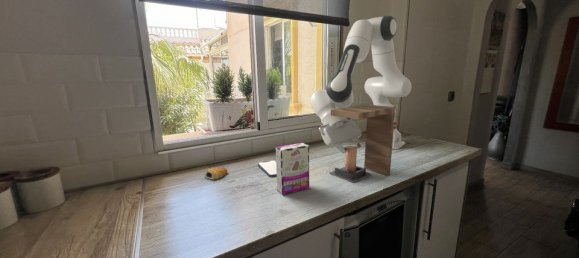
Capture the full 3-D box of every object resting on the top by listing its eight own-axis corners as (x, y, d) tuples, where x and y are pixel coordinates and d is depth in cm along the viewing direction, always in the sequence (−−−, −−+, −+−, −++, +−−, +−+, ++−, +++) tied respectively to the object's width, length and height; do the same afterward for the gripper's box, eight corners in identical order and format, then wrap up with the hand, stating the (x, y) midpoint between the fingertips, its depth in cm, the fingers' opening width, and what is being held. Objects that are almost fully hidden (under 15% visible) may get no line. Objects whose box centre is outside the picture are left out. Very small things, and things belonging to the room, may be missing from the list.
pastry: (220, 170, 112) (219, 162, 111) (231, 173, 109) (231, 165, 108) (203, 178, 104) (202, 169, 103) (214, 181, 101) (214, 172, 100)
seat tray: (347, 167, 115) (347, 161, 114) (370, 175, 106) (371, 169, 105) (329, 173, 107) (329, 168, 107) (353, 183, 98) (353, 176, 98)
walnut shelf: (364, 167, 115) (368, 104, 109) (389, 174, 106) (395, 107, 100) (328, 181, 100) (330, 109, 94) (354, 192, 91) (358, 113, 85)
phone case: (289, 175, 108) (274, 163, 121) (289, 171, 107) (274, 159, 121) (269, 179, 104) (256, 166, 118) (269, 175, 103) (256, 162, 117)
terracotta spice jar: (349, 170, 109) (350, 145, 107) (357, 173, 106) (359, 147, 104) (342, 172, 107) (343, 147, 104) (351, 176, 103) (352, 149, 101)
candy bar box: (302, 183, 98) (302, 142, 94) (309, 188, 93) (310, 145, 90) (275, 190, 93) (275, 146, 89) (282, 195, 88) (281, 149, 85)
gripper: (321, 121, 100) (340, 151, 95) (353, 115, 113) (371, 141, 108) (313, 130, 104) (331, 159, 99) (344, 124, 117) (362, 149, 112)
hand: (352, 150), depth 104 cm, fingers open, 8 cm apart
